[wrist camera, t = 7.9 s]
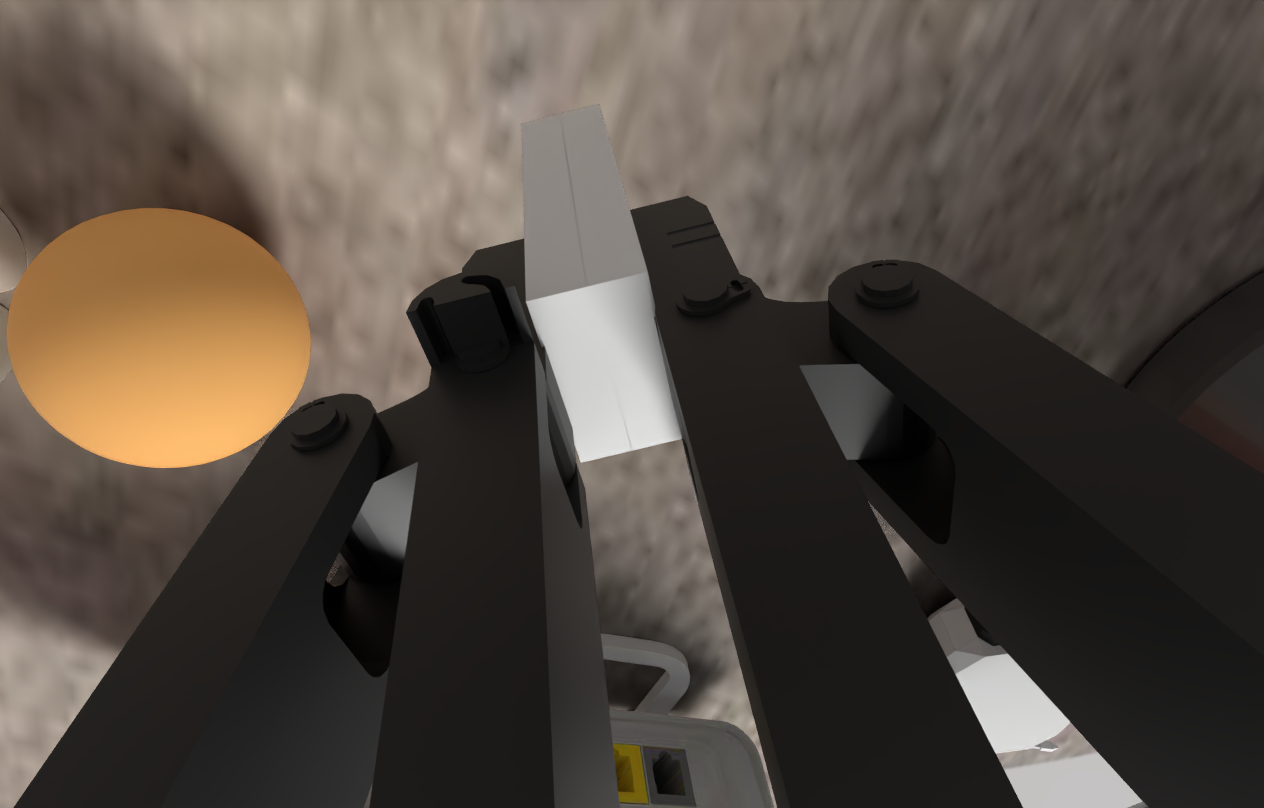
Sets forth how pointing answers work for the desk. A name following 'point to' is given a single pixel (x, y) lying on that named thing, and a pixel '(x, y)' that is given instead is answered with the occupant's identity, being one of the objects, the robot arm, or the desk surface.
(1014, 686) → the robot toy
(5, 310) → the pin
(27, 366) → the ball
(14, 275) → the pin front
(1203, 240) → the desk surface
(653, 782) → the network device
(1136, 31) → the desk surface
